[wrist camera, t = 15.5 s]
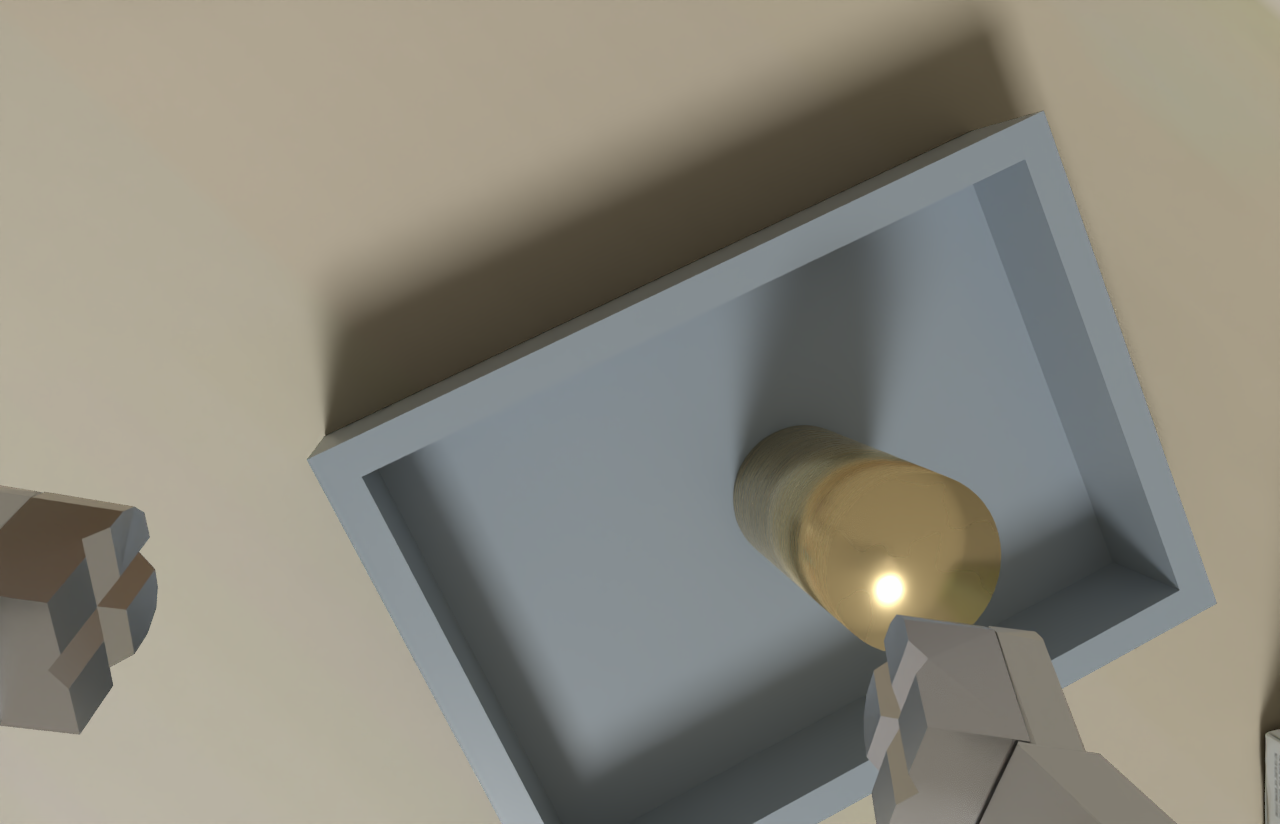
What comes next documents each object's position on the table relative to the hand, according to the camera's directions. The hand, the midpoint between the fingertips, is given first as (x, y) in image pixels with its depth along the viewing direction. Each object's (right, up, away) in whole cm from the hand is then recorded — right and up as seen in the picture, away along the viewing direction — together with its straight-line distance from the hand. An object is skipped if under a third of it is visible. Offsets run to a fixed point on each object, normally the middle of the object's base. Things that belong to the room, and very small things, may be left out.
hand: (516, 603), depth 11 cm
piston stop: (+6, 0, +21) cm, 22 cm away
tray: (+5, -1, +22) cm, 22 cm away
